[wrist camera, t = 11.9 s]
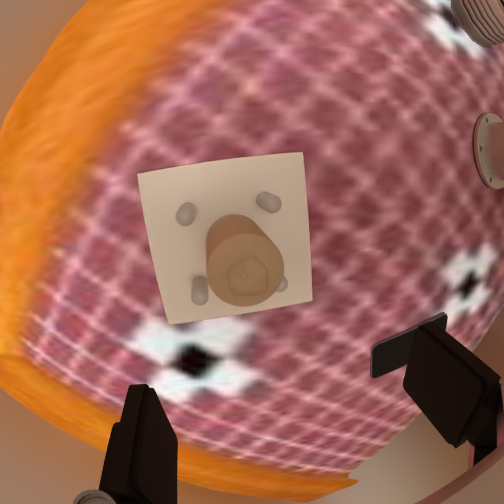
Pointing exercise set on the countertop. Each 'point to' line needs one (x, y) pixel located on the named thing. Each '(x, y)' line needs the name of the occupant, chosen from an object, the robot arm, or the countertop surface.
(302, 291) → the plate
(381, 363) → the smartphone
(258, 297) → the candle
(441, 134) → the countertop surface
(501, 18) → the can
